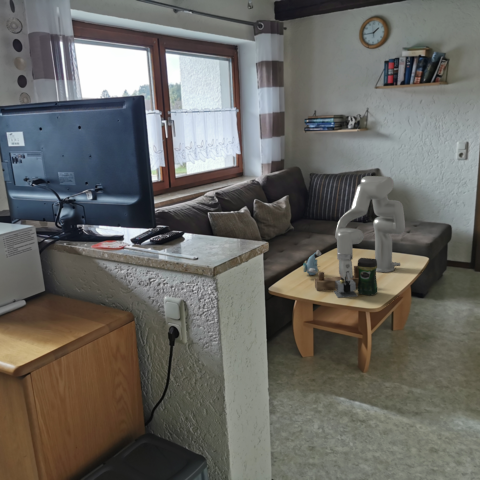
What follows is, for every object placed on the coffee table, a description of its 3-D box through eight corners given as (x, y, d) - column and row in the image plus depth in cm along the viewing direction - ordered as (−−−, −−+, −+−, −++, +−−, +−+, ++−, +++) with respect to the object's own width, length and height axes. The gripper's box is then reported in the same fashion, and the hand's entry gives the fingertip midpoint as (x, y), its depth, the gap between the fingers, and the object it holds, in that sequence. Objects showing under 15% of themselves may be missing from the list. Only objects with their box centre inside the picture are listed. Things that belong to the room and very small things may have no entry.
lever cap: (352, 286, 254) (352, 277, 252) (355, 290, 248) (355, 281, 247) (335, 288, 253) (335, 278, 252) (338, 291, 247) (337, 282, 246)
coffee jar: (379, 292, 251) (379, 257, 247) (374, 296, 245) (374, 261, 240) (360, 289, 256) (360, 255, 252) (355, 294, 250) (355, 259, 246)
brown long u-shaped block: (362, 283, 265) (362, 264, 263) (365, 287, 259) (365, 267, 257) (315, 287, 264) (314, 267, 262) (317, 290, 258) (316, 271, 256)
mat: (352, 290, 256) (352, 289, 255) (357, 296, 247) (357, 295, 247) (333, 291, 255) (333, 290, 255) (337, 297, 247) (337, 296, 246)
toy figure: (321, 279, 277) (320, 253, 273) (302, 279, 279) (301, 254, 276) (322, 270, 293) (321, 246, 289) (304, 270, 295) (303, 246, 291)
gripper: (357, 259, 238) (357, 294, 242) (347, 251, 255) (348, 283, 259) (341, 261, 238) (342, 296, 242) (333, 252, 255) (334, 285, 259)
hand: (345, 289), depth 251 cm, fingers closed on lever cap, 6 cm apart
